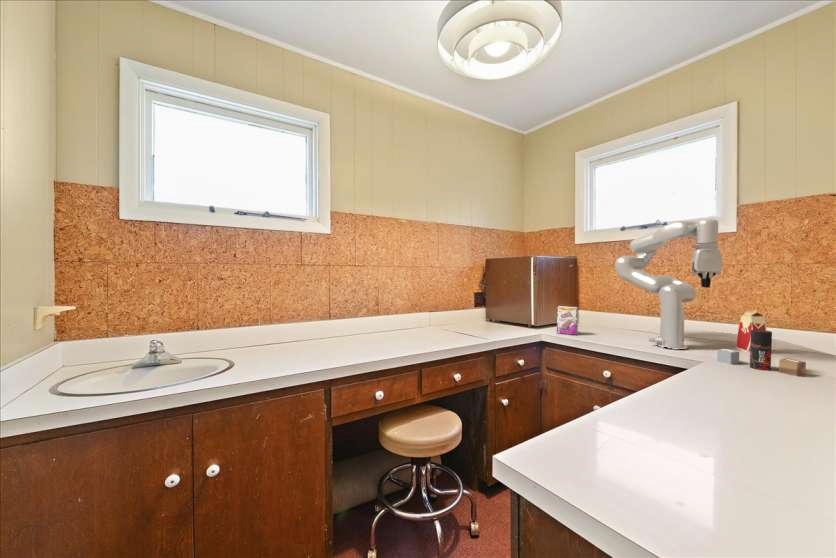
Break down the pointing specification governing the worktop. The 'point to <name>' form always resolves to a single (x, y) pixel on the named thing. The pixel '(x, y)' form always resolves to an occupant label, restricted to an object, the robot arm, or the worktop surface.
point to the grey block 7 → (728, 356)
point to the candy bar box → (567, 320)
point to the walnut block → (792, 367)
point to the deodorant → (760, 349)
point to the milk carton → (749, 328)
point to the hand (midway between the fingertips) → (705, 287)
